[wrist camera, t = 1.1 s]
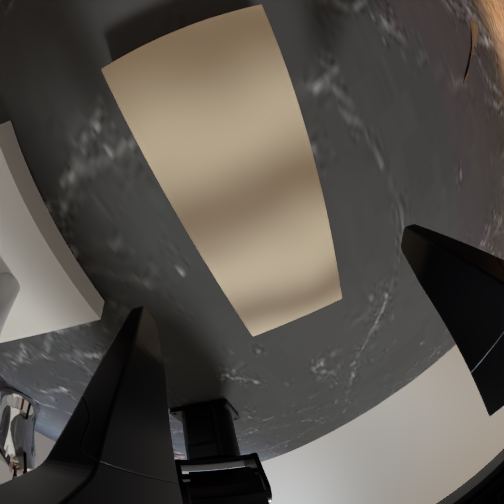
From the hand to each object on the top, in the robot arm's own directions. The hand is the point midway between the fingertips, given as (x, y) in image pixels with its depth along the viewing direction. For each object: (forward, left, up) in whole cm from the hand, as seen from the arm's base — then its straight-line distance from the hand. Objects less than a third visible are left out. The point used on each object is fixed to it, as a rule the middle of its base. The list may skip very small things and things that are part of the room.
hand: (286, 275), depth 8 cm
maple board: (0, 0, -6) cm, 7 cm away
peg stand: (+2, +20, -6) cm, 21 cm away
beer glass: (-16, +34, -6) cm, 38 cm away
